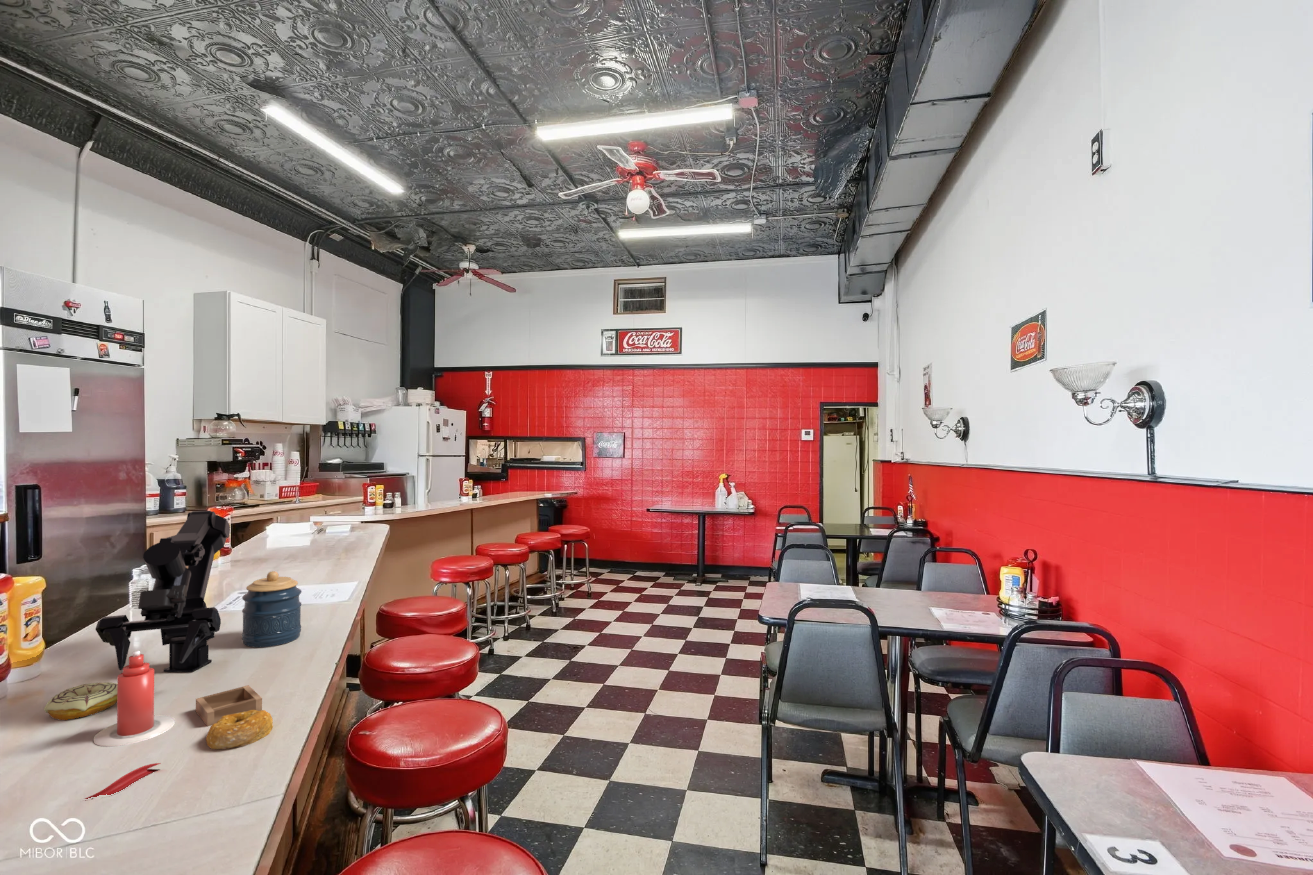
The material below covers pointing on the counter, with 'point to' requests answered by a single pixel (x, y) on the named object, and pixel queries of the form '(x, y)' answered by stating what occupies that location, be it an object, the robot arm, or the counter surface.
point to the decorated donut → (82, 700)
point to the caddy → (227, 704)
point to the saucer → (113, 739)
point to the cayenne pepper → (127, 780)
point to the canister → (271, 611)
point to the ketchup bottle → (135, 697)
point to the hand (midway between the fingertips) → (151, 665)
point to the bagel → (239, 729)
